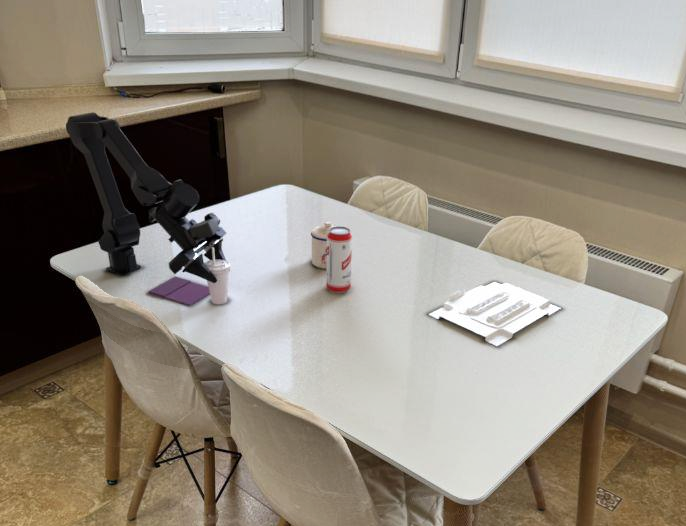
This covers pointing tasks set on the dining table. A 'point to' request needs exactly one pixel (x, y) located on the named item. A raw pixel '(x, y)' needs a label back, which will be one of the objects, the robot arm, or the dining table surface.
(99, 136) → the robot arm
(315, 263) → the teacup with lid
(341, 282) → the beer can
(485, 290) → the tray
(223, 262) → the smoothie
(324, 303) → the dining table surface
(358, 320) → the dining table surface
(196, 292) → the dish cloth
